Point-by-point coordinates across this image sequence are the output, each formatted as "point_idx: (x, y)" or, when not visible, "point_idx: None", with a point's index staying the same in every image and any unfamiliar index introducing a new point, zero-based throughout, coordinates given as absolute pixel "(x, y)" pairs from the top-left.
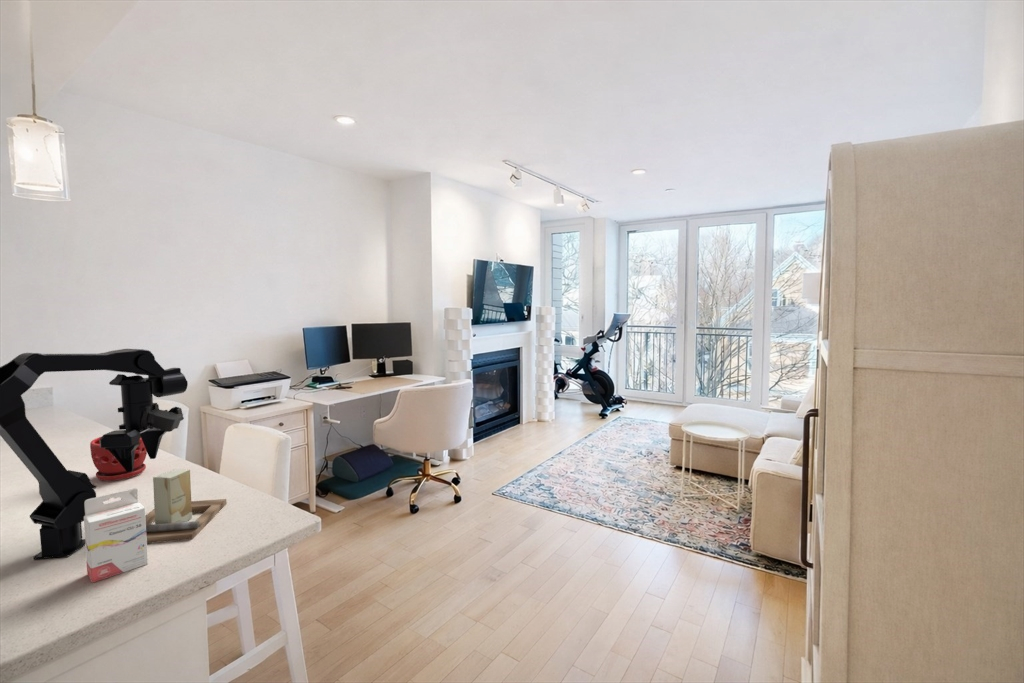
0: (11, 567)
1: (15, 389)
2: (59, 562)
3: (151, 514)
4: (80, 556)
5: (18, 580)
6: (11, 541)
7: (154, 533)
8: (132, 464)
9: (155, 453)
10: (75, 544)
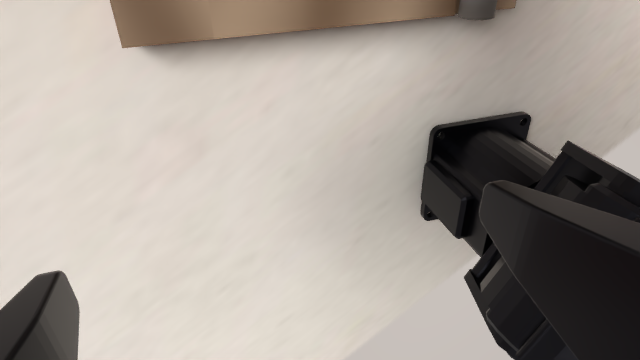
0: None
1: None
2: (548, 112)
3: (282, 3)
4: (533, 75)
5: (606, 139)
6: (365, 337)
7: None
8: (573, 207)
9: (40, 313)
10: (500, 132)
